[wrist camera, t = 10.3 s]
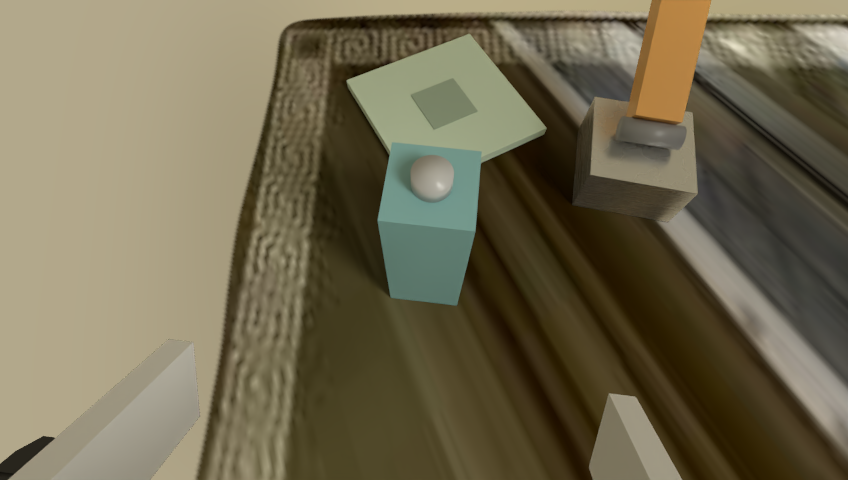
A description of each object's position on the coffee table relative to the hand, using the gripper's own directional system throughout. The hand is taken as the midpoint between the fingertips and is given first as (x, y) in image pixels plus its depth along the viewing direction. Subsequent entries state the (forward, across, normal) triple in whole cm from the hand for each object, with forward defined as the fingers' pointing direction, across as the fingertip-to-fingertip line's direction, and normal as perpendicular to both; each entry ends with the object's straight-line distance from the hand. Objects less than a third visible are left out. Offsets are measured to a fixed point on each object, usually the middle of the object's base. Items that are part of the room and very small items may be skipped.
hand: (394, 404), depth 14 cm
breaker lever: (+21, +14, +7) cm, 27 cm away
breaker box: (+25, +14, +4) cm, 29 cm away
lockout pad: (+28, 0, +7) cm, 29 cm away
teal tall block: (+18, 0, -3) cm, 18 cm away
